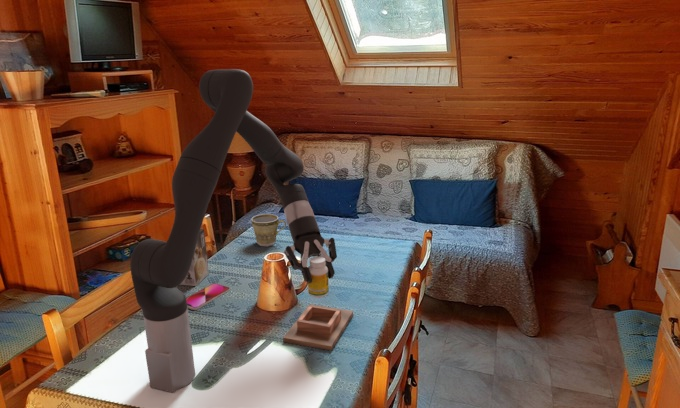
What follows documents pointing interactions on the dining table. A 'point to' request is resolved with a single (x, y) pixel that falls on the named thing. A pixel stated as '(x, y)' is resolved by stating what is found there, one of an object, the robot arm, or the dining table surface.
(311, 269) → the supplement bottle
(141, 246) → the robot arm
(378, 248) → the dining table surface
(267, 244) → the ceramic cup
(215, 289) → the smartphone
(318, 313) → the socket board
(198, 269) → the coffee box
